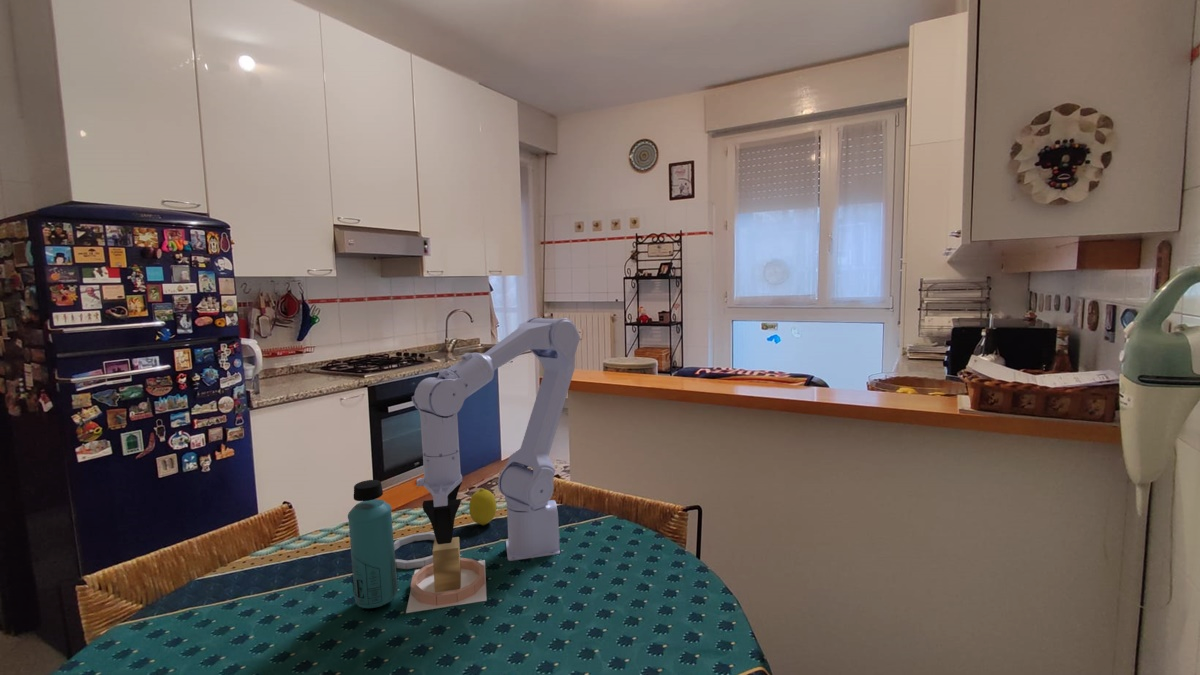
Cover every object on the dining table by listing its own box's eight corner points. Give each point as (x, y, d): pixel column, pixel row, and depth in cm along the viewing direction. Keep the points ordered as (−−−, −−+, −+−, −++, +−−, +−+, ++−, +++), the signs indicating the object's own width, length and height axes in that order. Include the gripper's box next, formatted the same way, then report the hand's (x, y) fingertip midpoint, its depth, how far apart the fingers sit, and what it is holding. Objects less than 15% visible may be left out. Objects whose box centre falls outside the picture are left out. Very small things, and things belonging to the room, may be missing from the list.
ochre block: (461, 576, 92) (459, 536, 91) (460, 588, 88) (458, 547, 87) (436, 579, 91) (434, 539, 90) (434, 592, 87) (432, 551, 86)
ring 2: (484, 562, 96) (483, 554, 96) (485, 598, 85) (484, 588, 85) (415, 571, 93) (415, 563, 93) (407, 609, 82) (407, 600, 82)
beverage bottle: (408, 597, 86) (400, 476, 84) (378, 622, 80) (369, 492, 78) (375, 591, 88) (366, 473, 86) (344, 614, 82) (334, 488, 80)
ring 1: (452, 536, 107) (451, 529, 107) (449, 565, 96) (449, 557, 96) (390, 544, 105) (390, 536, 105) (380, 574, 94) (380, 566, 93)
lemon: (500, 520, 114) (498, 483, 114) (492, 532, 109) (490, 493, 108) (475, 519, 115) (473, 483, 114) (466, 531, 109) (464, 493, 109)
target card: (485, 562, 97) (485, 559, 97) (486, 602, 84) (486, 600, 84) (415, 571, 94) (415, 569, 94) (406, 615, 82) (405, 612, 82)
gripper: (419, 441, 93) (424, 517, 94) (409, 468, 79) (415, 556, 80) (461, 437, 95) (465, 512, 96) (459, 463, 81) (464, 550, 82)
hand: (445, 532), depth 88 cm, fingers open, 7 cm apart
